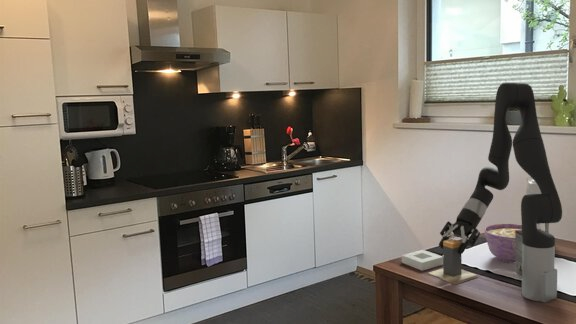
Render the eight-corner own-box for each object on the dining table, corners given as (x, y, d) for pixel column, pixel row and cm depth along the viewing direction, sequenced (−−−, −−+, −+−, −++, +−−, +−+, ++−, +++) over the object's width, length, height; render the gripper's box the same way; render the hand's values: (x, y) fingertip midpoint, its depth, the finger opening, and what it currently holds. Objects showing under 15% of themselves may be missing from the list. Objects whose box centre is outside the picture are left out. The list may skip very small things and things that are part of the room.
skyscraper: (534, 244, 212) (535, 179, 209) (519, 239, 220) (520, 176, 216) (550, 242, 215) (551, 177, 211) (535, 237, 223) (536, 174, 219)
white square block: (443, 265, 194) (443, 256, 193) (422, 271, 188) (422, 262, 188) (422, 258, 203) (422, 249, 203) (401, 263, 198) (401, 255, 198)
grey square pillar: (461, 274, 182) (461, 241, 180) (452, 276, 180) (452, 244, 178) (452, 270, 186) (451, 239, 184) (443, 273, 184) (443, 241, 182)
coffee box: (539, 271, 183) (540, 228, 181) (549, 278, 176) (550, 233, 174) (514, 273, 183) (515, 230, 180) (523, 279, 176) (523, 235, 174)
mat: (477, 277, 181) (477, 275, 180) (453, 284, 175) (453, 282, 175) (451, 267, 191) (451, 265, 191) (428, 274, 185) (427, 272, 185)
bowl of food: (528, 250, 206) (529, 223, 204) (549, 267, 186) (549, 237, 184) (477, 251, 208) (477, 224, 206) (492, 268, 188) (492, 238, 186)
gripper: (451, 204, 189) (429, 239, 185) (483, 211, 177) (459, 249, 173) (461, 215, 193) (439, 251, 189) (493, 223, 180) (470, 261, 176)
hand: (449, 250), depth 181 cm, fingers open, 8 cm apart
